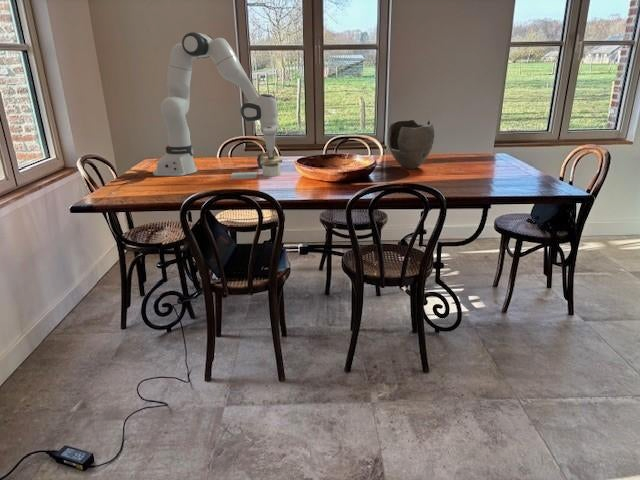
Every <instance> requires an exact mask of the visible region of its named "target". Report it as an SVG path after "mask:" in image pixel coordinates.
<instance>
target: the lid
mask: <svg viewBox="0 0 640 480" xmlns="http://www.w3.org/2000/svg"><path fill="white" fill-rule="evenodd" d="M274 151H275V149H274V150H273V157H269V150H267V152H268V157H261V158H260V163H278V164H280V163H283V156H282V155H278V156H274Z"/></svg>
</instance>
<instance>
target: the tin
mask: <svg viewBox="0 0 640 480" xmlns="http://www.w3.org/2000/svg"><path fill="white" fill-rule="evenodd" d="M274 156H279V154H278V152H276V151H275V150H274ZM261 157H268V151H265V152H261V153H259V154H258V155H257V157H256V164H257V166H258V167H259V168H260V169H263V168H262V165H263V164H266V163H260V158H261Z"/></svg>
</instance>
